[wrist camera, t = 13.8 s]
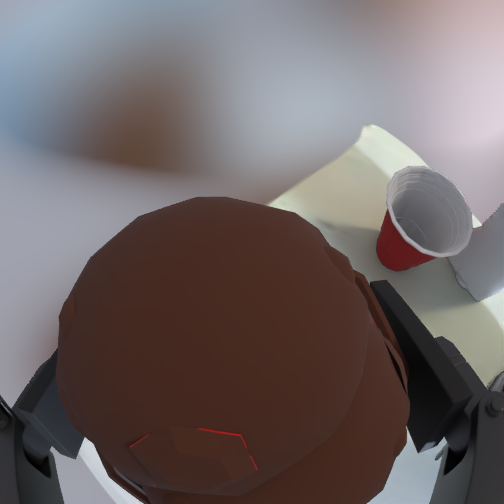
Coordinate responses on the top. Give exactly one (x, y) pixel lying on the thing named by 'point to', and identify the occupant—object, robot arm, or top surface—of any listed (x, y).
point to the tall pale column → (483, 258)
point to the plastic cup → (422, 219)
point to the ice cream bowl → (232, 361)
